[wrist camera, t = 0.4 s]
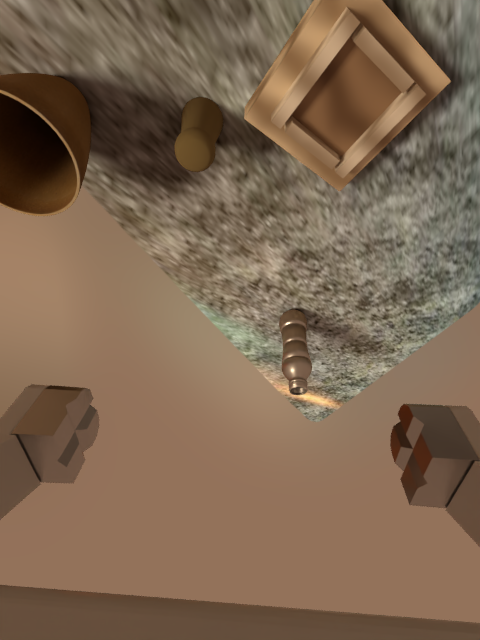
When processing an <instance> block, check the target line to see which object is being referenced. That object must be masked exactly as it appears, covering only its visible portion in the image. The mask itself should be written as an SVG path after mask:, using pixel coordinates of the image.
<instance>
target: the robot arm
mask: <svg viewBox="0 0 480 640" xmlns="http://www.w3.org/2000/svg"><path fill="white" fill-rule="evenodd" d="M92 400H93V397H92V394H91V391H90V389H87V388H78V387H65V386H45V385H34V384H32V385H30V386H28V387H26V388H25V389H24V391H23V392H22V393H21V394H20V395H19V396H18V398H17V399H16V400H15V401H14V403H13V404H12V405H11V406H10V407H9V409H8V410H7V411H6V412H5V414H4V415H3V416H2V417H1V418H0V519H1V518H3V517H4V516H5V515H6V514H7V513H8V512H9V511H11V510H12V509H13V508H14V507H15V506H16V505H17V504H18V503H20V502H21V501H22V500H23V499H24V498H25V497H26V496H28V495H29V494H30V493H31V492H32V491H33V490H34V489H36V488H37V487H38V486H39V485H40V482H48V483H49V482H50V483H74V481H75V479H76V477H77V475H78V473H79V471H80V469H81V467H82V465H83V463H84V461H85V458H84V455H83V452H84V451H85V450H87V449H88V448H90V447H91V446H92V445H93V443H94V441H95V439H96V436H97V432H98V428H99V416H98V413H97V410H96V409H95V408H94V407H92V406H91V405H90V403H91V402H92ZM398 416H399V419H400V422H399V423H397V424H396V425H394V426H393V429H392V433H391V444H390V446H391V451H392V456H393V458H394V462H395V463H396V464H397V465H398V466H399V467H400V468H401V469H402V470H403V471H404V472H403V474H402V477H401V482H402V485H403V488H404V490H405V493H406V496H407V499H408V502H409V504H410V505H416V506H427V507H438V508H447V509H446V511H447V512H448V513H449V514H450V515H451V516H452V517H453V519H454V520H456V522H457V523H458V524H459V525H460V526H461V527H462V528H463V529H464V530H465V532H466V533H467V534H468V535H469V536H470V537H471V538H472V539H473V540H474V541H475V542H476V544H478V546H479V547H480V423H479V421H478V420H477V418H476V417H475V415H474V414H473V412H472V411H471V410H470V409H469V408H468V407H466V406H443V405H422V404H403V405H402V406H401V407H400V410H399V412H398ZM0 640H480V623H472V622H461V621H448V620H435V619H422V618H411V617H398V616H385V615H372V614H359V613H347V612H335V611H323V610H309V609H297V608H283V607H272V606H259V605H247V604H235V603H222V602H209V601H197V600H184V599H171V598H159V597H146V596H134V595H121V594H109V593H96V592H82V591H70V590H57V589H45V588H33V587H20V586H7V585H0Z"/></svg>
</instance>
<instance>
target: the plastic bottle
mask: <svg viewBox="0 0 480 640" xmlns="http://www.w3.org/2000/svg"><path fill="white" fill-rule="evenodd" d="M279 327H280V331H281V334H282V340H283V358H282V372H283V374H284V376H285V377H286V378H287V379H288V380H289V391H290V393H291V394H293V395H303V394H305V393H306V392H307V385H308V384H307V381H306V380H307V378H308V377H309V375H310V374H311V371H312V363H311V360H310V356H309V353H308V347H307V342H306V331H307V319H306V317H305V315H304V314H303V313H302V312H301V311H299V310H288V311H286V312H284V313H283V314H282V316H281V317H280V321H279Z"/></svg>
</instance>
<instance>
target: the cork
mask: <svg viewBox="0 0 480 640" xmlns="http://www.w3.org/2000/svg"><path fill="white" fill-rule="evenodd" d="M222 127H223V116H222V112H221V110H220V109H219V107H218V105H216V104H215V103H214V102H213V101H212V100H210V99H208V98H204V97H197V98H193V99H191V100H190V101H189V102H187V104H186V105H185V107H184V108H183V112H182V120H181V133H180V134H179V136H178V137H177V139H176V142H175V146H174V147H175V155H176V158H177V160H178V162H179V163H180V164H181V166H183V167H184V168H185V169H187V170H189V171H192V172H200V171H204V170H205V169H207V168H208V167H209V166H210V165H211V164H212V163H213V160H214V158H215V143H216V141H217V139H218V137H219V135H220V133H221V130H222Z"/></svg>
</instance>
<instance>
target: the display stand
mask: <svg viewBox="0 0 480 640" xmlns="http://www.w3.org/2000/svg"><path fill="white" fill-rule="evenodd" d="M450 82H451V81H450V79H449V78H448V77H447V76H446V75H445V74H444V72H443V71H442V70H441V69H440V68H439V66H438V65H437V64H436V63H435V62H434V61H433V59H432V58H431V57H430V56H429V55H428V54H427V52H426V51H425V50H424V49H423V48H422V47H421V45H420V44H419V43H418V42H417V41H416V39H415V38H414V37H413V36H412V35H411V34H410V32H409V31H408V30H407V29H406V28H405V27H404V25H403V24H402V23H401V22H400V21H399V20H398V18H397V17H396V16H395V15H394V14H393V13H392V11H391V10H390V9H389V8H388V7H387V5H386V4H385V3H384V2H383V1H382V0H314V1H313V2H312V4H311V5H310V7H309V9H308V10H307V12H306V13H305V15H304V16H303V18H302V19H301V21H300V23H299V24H298V26H297V27H296V29H295V30H294V32H293V33H292V35H291V37H290V38H289V40H288V41H287V43H286V44H285V46H284V47H283V49H282V51H281V52H280V54H279V55H278V57H277V58H276V60H275V61H274V63H273V65H272V66H271V68H270V69H269V71H268V72H267V74H266V75H265V77H264V78H263V80H262V82H261V83H260V85H259V86H258V88H257V89H256V91H255V92H254V94H253V96H252V97H251V99H250V100H249V102H248V103H247V105H246V106H245V116H244V119H245V120H247V121H248V122H249V123H250V124H252V125H253V126H254V127H256V128H257V129H258V130H260V131H261V132H262V133H264V134H265V135H266V136H268V137H269V138H270V139H271V140H273V141H274V142H275V143H277V144H278V145H279V146H281V147H282V148H283V149H285V150H286V151H287V152H288V153H290V154H291V155H292V156H294V157H295V158H296V159H298V160H299V161H300V162H302V163H303V164H304V165H306V166H307V167H308V168H309V169H311V170H312V171H313V172H315V173H316V174H317V175H319V176H320V177H321V178H323V179H324V180H325V181H326V182H328V183H329V184H330V185H332V186H333V187H334V188H336V189H337V190H338V191H341V190H342V189H343V188H344V187H345V186H346V185H347V184H348V183H349V182H350V181H351V180H352V179H353V178H354V177H355V176H356V175H357V174H358V173H359V172H360V171H361V170H362V169H363V168H364V167H365V166H366V165H367V164H368V163H369V162H370V161H371V160H372V159H373V158H374V157H375V156H376V155H377V154H378V153H379V152H380V151H381V150H382V149H383V148H384V147H385V146H386V145H387V144H388V143H389V142H390V141H391V140H392V139H393V138H394V137H395V136H396V135H397V134H398V133H399V132H400V131H401V130H402V129H403V128H404V127H405V126H406V125H407V124H408V123H409V122H410V121H411V120H412V119H413V118H414V117H415V116H416V115H417V114H418V113H420V112H421V111H422V110H423V109H424V108H425V107H426V106H427V105H428V104H429V103H430V102H431V101H432V100H433V99H434V98H435V97H436V96H437V95H438V94H439V93H440V92H441V91H442V90H443V89H444V88H445V87H446V86H447V85H448V84H449V83H450Z"/></svg>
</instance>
